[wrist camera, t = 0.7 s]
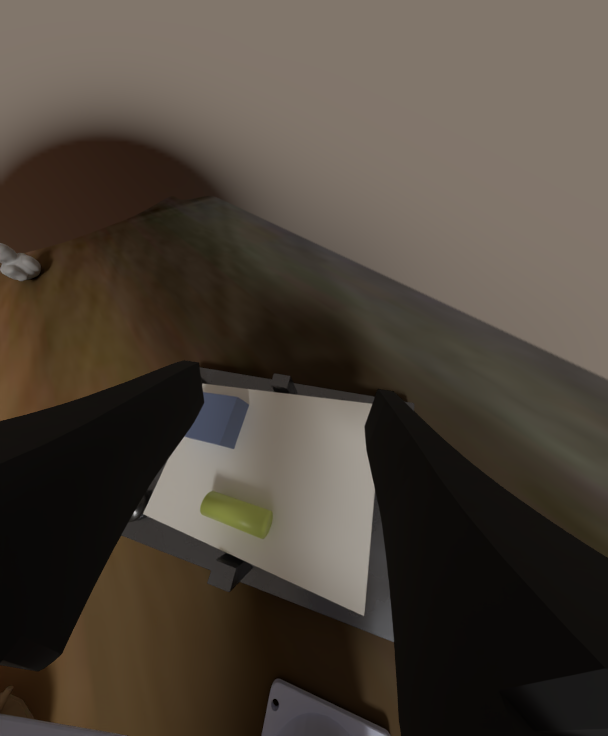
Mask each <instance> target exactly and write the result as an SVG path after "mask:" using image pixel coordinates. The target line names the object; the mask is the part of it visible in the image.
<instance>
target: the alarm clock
mask: <svg viewBox="0 0 608 736" xmlns="http://www.w3.org/2000/svg"><path fill="white" fill-rule="evenodd" d="M12 689H13V686H8V687H7V688H6V689H5V691H4V692H2V693H0V714H6V715H12V716H17V717H23V718H29V719H35V718H34V717H33V715H32V714H31V712H30V710H29V709H28V707H27V706H26V704H25V703H24V701H23V699H20V698H18V697H16V696H14V695H11V692H12Z"/></svg>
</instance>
